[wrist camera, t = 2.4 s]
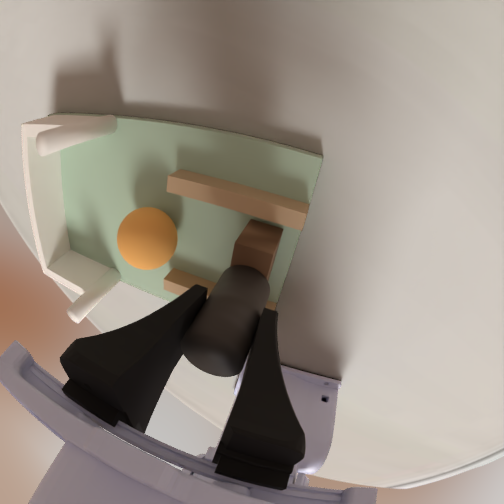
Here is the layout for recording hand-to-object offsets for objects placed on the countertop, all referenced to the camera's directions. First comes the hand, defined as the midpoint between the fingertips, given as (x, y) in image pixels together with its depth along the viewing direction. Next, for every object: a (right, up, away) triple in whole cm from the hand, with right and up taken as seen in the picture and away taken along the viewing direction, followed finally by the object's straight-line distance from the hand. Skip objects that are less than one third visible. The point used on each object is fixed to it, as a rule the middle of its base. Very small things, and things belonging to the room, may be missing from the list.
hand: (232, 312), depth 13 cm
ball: (-6, +4, +4) cm, 8 cm away
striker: (+1, +2, +4) cm, 5 cm away
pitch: (-6, +6, +6) cm, 10 cm away
